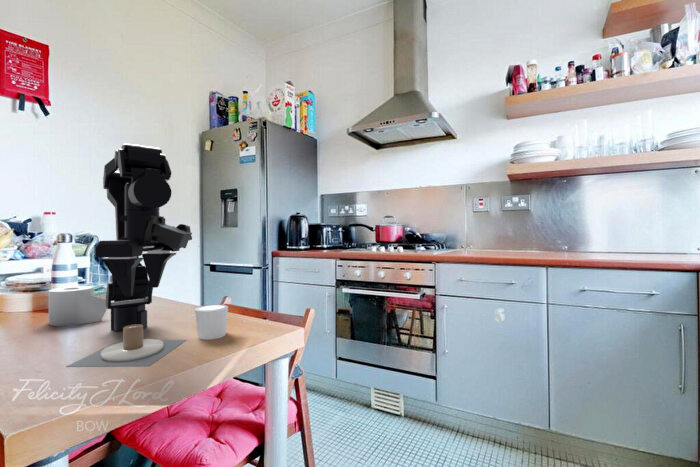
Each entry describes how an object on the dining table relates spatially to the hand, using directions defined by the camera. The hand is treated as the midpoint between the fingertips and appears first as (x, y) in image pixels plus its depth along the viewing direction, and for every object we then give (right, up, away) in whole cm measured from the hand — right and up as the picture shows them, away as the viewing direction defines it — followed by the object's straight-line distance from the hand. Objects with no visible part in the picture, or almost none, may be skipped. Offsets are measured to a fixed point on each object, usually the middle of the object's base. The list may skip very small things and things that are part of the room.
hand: (142, 291), depth 66 cm
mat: (-1, -12, -1) cm, 12 cm away
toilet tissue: (-32, -12, +24) cm, 42 cm away
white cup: (+10, -12, +9) cm, 18 cm away
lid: (-1, -11, -1) cm, 11 cm away
